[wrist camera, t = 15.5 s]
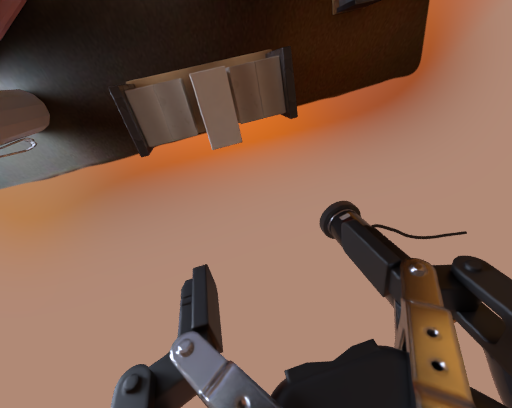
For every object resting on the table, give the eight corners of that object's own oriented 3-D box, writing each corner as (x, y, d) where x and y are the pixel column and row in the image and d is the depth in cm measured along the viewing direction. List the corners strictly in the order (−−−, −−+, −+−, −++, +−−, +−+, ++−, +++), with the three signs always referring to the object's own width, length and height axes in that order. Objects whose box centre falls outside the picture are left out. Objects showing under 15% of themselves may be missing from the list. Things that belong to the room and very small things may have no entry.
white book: (214, 70, 25) (224, 65, 15) (226, 120, 27) (242, 142, 18) (192, 75, 24) (189, 73, 15) (207, 125, 27) (212, 150, 18)
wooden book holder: (268, 49, 26) (290, 41, 20) (277, 111, 29) (298, 120, 23) (127, 81, 24) (105, 83, 18) (154, 142, 28) (142, 160, 22)
